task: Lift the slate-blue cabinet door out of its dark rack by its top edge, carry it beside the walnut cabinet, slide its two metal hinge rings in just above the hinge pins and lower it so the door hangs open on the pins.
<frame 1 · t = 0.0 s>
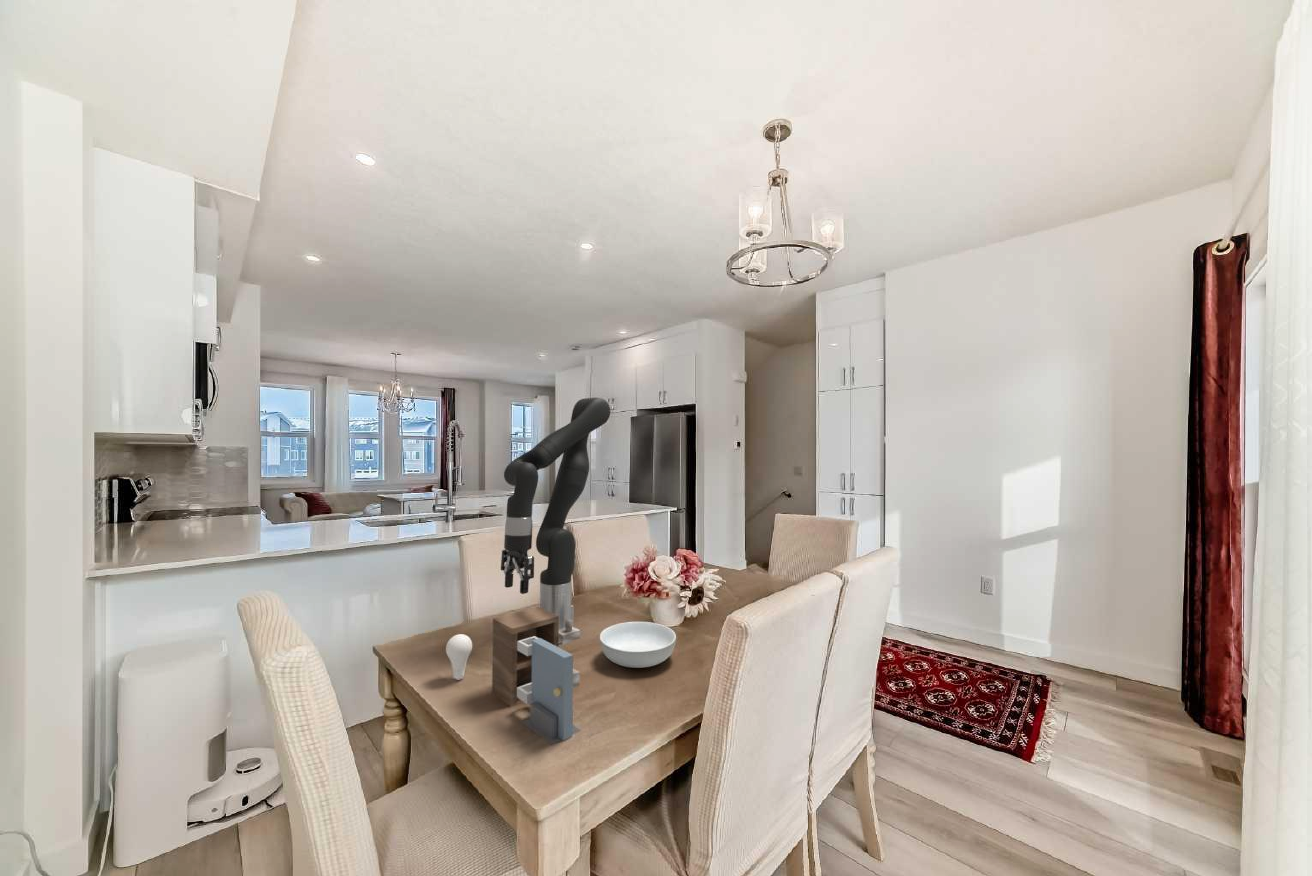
hand: (516, 590, 144), 17 cm above the table, tool pointing down, fingers open, 8 cm apart
serving bowl: (637, 661, 139), on the table
lightbulb: (458, 680, 126), on the table
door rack: (550, 731, 104), on the table
cabinet door: (550, 726, 104), point 1 cm above the table, touching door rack
cabinet: (525, 694, 119), on the table
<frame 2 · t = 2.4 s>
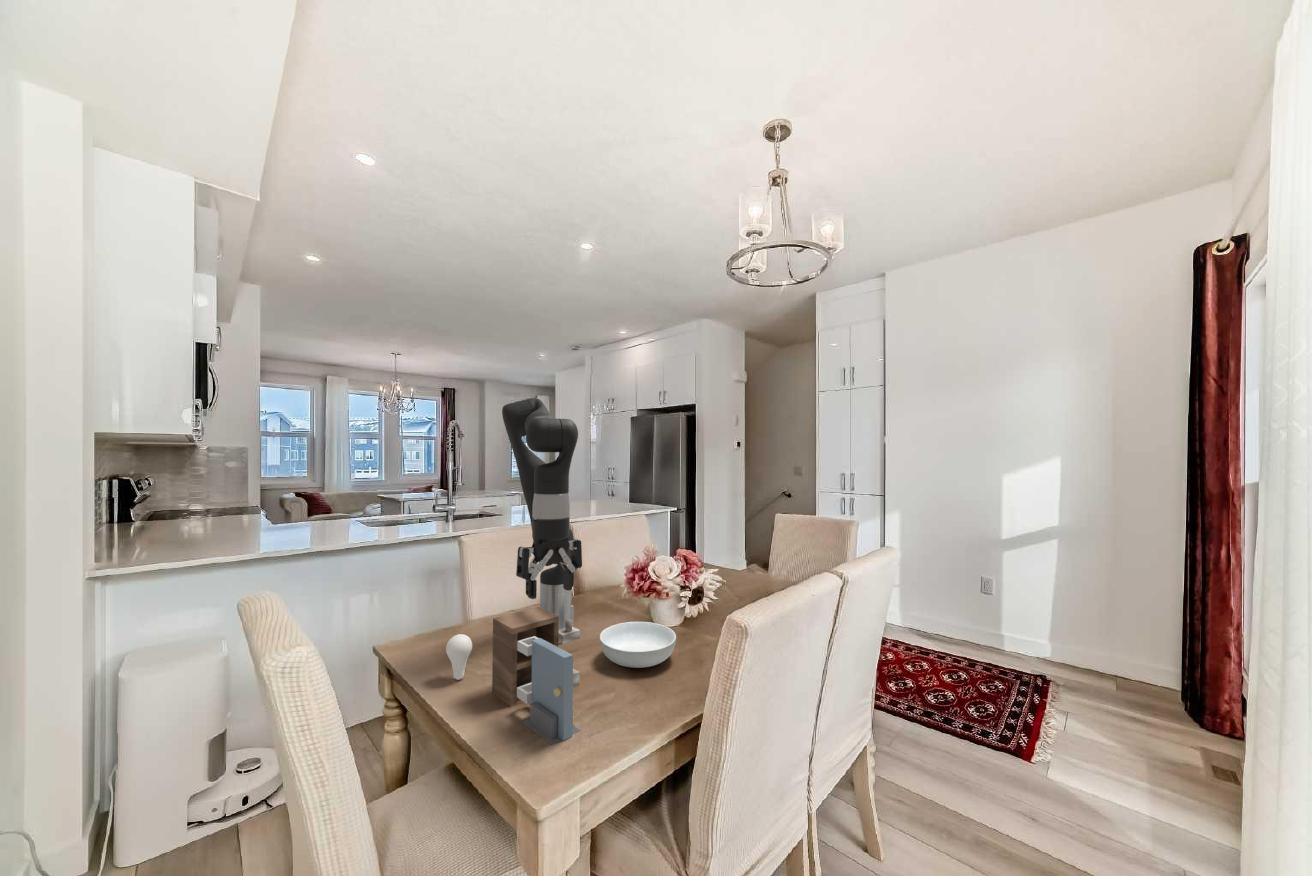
hand: (550, 593, 105), 28 cm above the table, tool pointing down, fingers open, 8 cm apart
nothing on the table moved.
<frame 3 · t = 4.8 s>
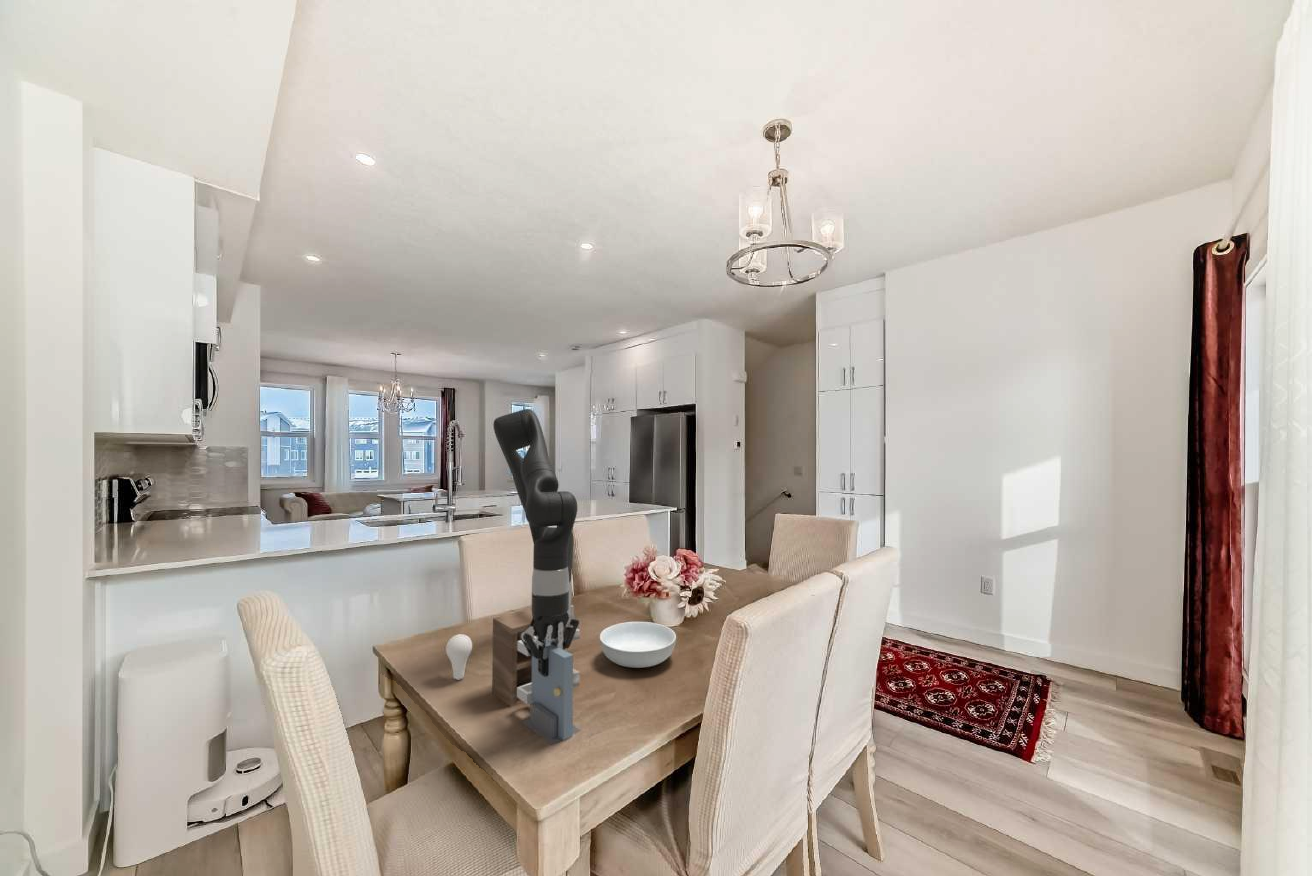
hand: (549, 673, 105), 12 cm above the table, tool pointing down, fingers closed on cabinet door, 2 cm apart
cabinet door: (551, 726, 104), point 1 cm above the table, touching gripper
everything else where it was.
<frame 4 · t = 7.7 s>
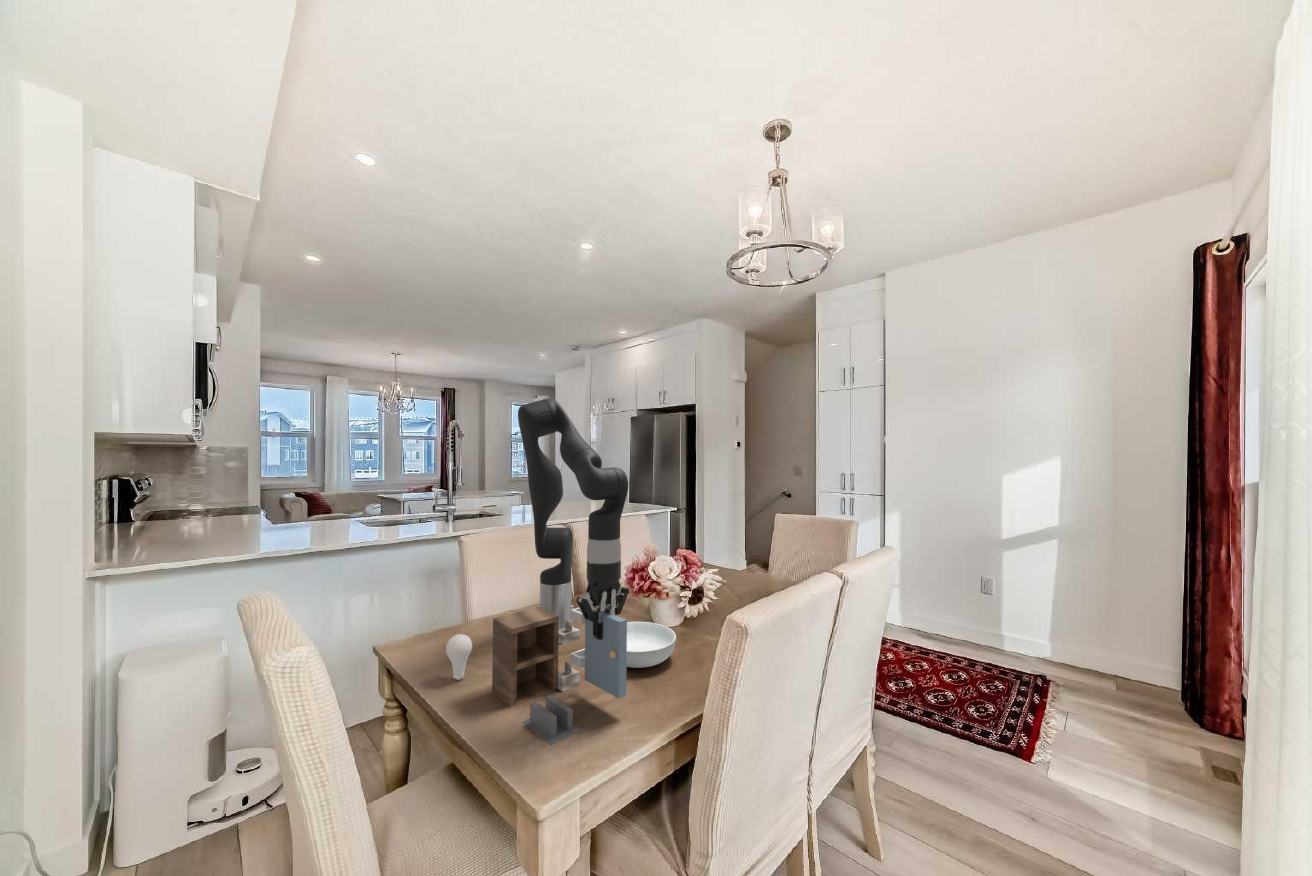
hand: (603, 636, 112), 16 cm above the table, tool pointing down, fingers closed on cabinet door
cabinet door: (604, 687, 111), point 5 cm above the table, touching gripper
everything else where it was.
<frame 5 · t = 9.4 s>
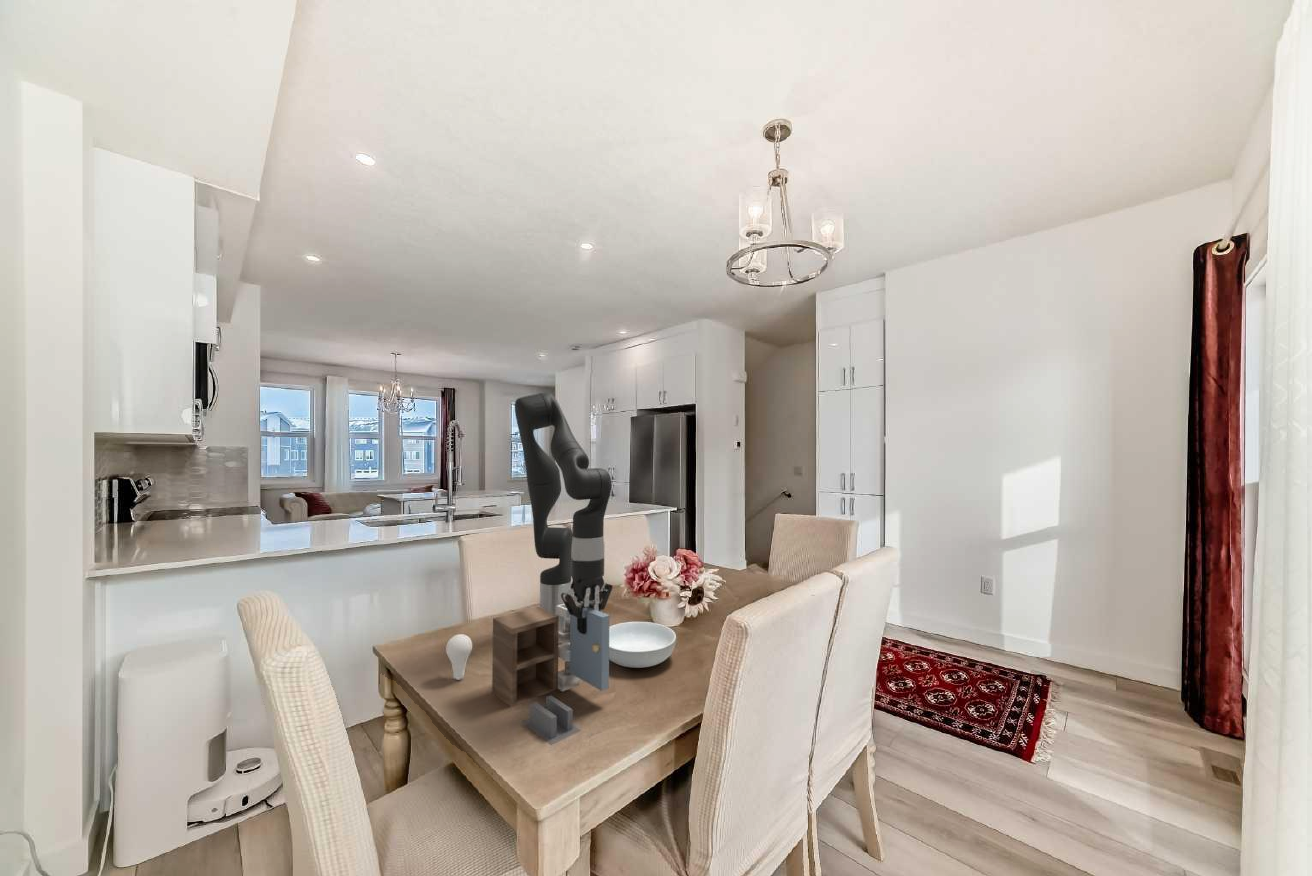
hand: (587, 631, 116), 16 cm above the table, tool pointing down, fingers closed on cabinet door
cabinet door: (588, 680, 116), point 5 cm above the table, touching gripper
everything else where it was.
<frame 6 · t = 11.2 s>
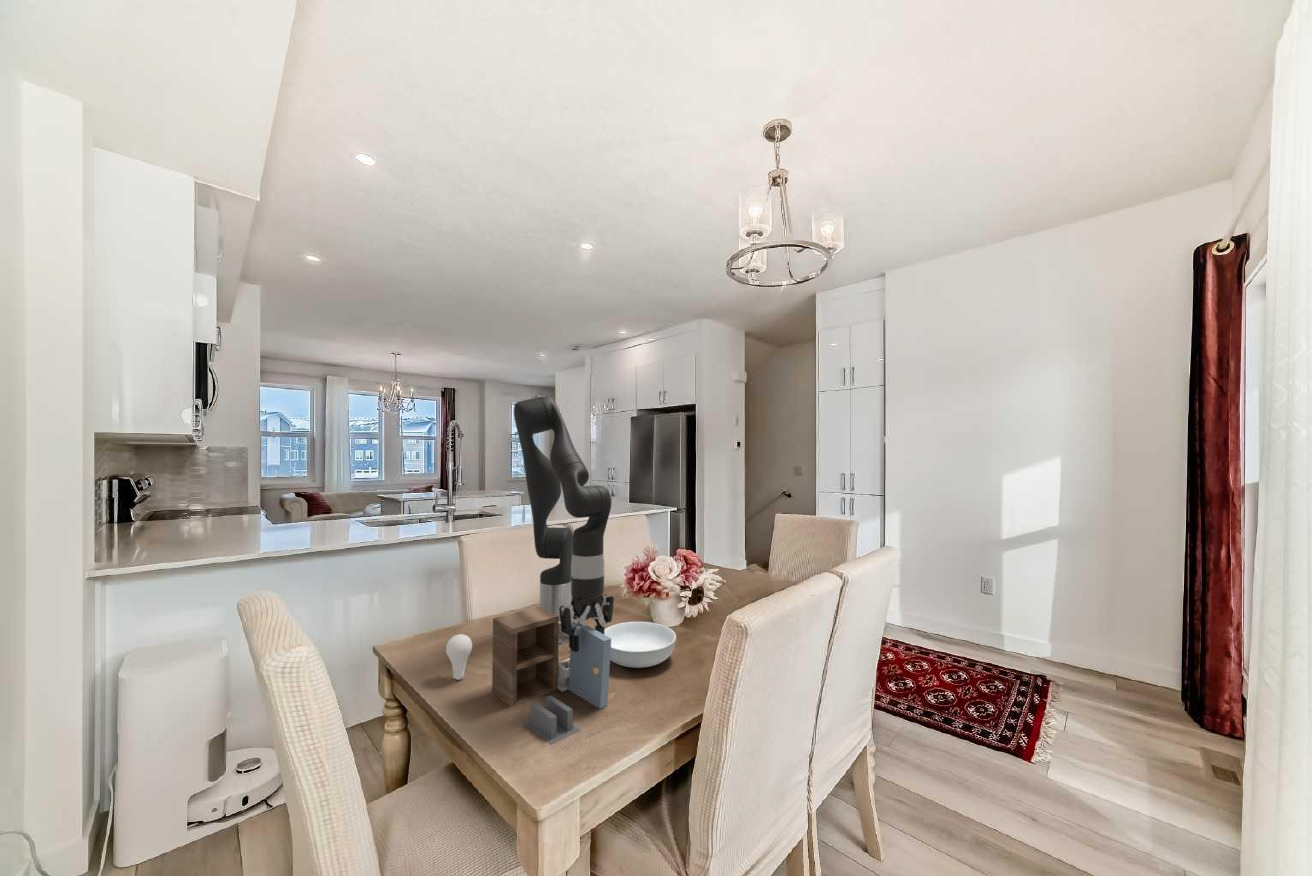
hand: (587, 646, 116), 12 cm above the table, tool pointing down, fingers open, 6 cm apart
cabinet door: (587, 699, 116), point 1 cm above the table, touching cabinet
everything else where it was.
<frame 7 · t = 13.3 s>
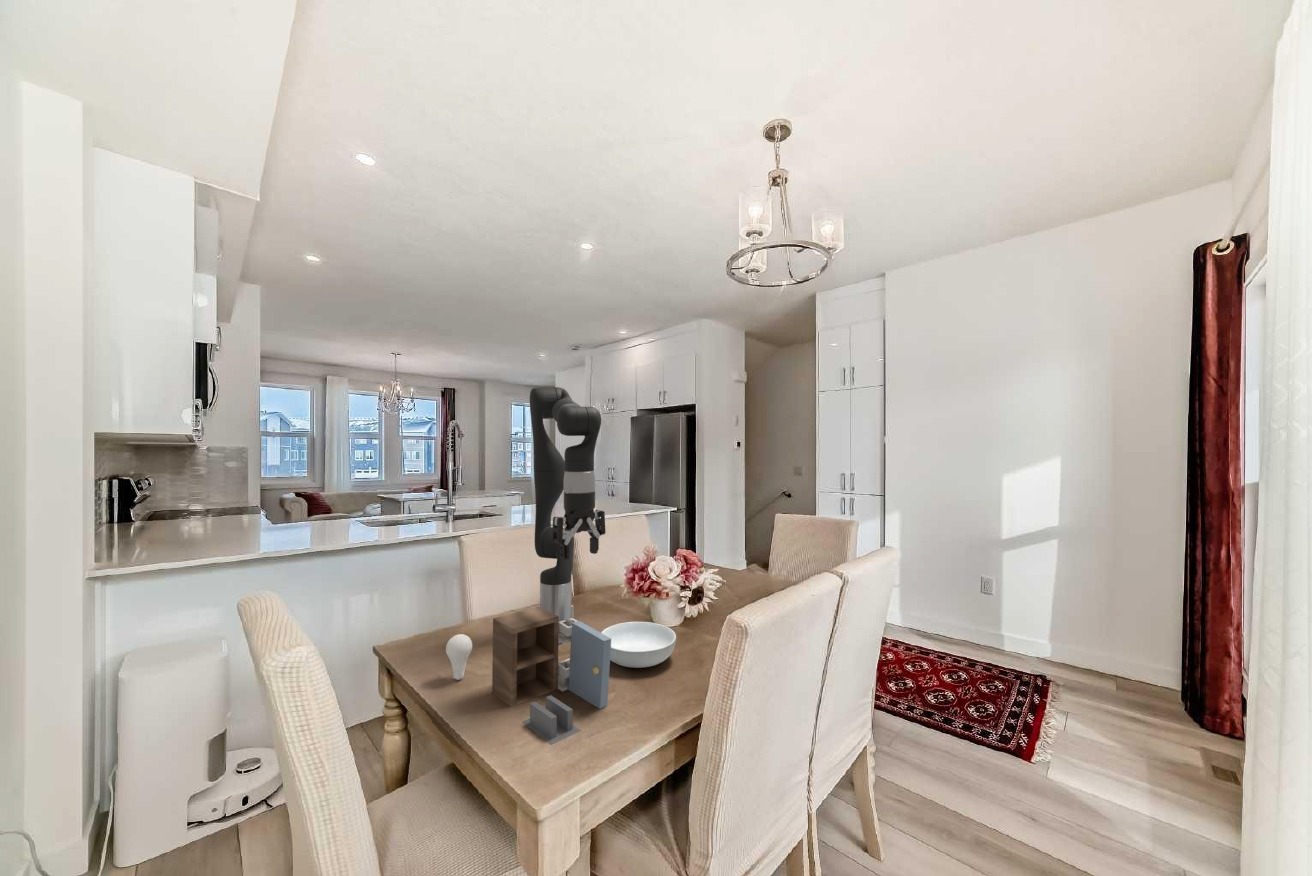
hand: (579, 556, 123), 31 cm above the table, tool pointing down, fingers open, 8 cm apart
nothing on the table moved.
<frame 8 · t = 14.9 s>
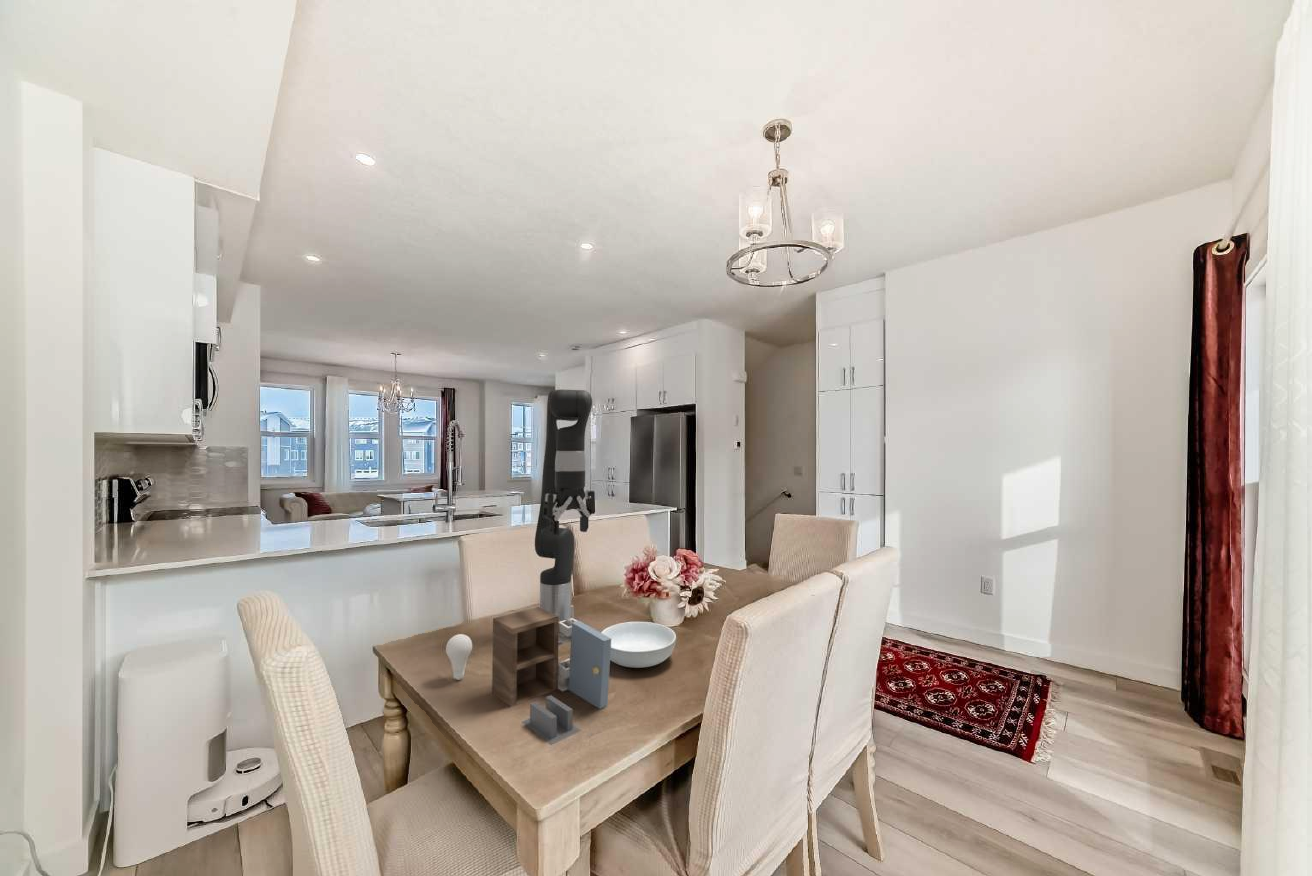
hand: (569, 533, 128), 36 cm above the table, tool pointing down, fingers open, 8 cm apart
nothing on the table moved.
at the end: cabinet door 0.5 cm from the target spot, point 0.5 cm above the table; cabinet door tilted 4°; the gripper is holding nothing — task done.
